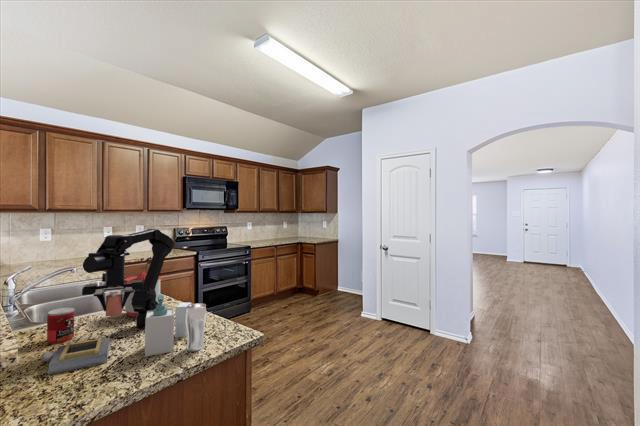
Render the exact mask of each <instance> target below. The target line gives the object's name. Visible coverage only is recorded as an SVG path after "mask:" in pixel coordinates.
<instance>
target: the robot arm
mask: <svg viewBox="0 0 640 426" xmlns="http://www.w3.org/2000/svg"><path fill="white" fill-rule="evenodd" d="M145 241H148V243H149V244H150V245H151V251H152V257H151V261H150V263H149V266H148V268H147V272H146V277H145V280H144V281H143V280H134V281H132V283H126V284H124V279H125V263H126V262H125V261H126V260H125V259H126V258H125V257H126V256H129V255H130V253H129V252H128V251H127V250H128V249H129V248H131V247H132V246H133V245H135V244H139V243H141V242H145ZM174 246H175V242H174V240H173V238H172V237H170V236H169V235H167V234H165V233H164V232H162V231H161V230H160V229H157V228H147V229H146V230H141V231H137V232H133V233H128V234H109V235H107V236H105V238H104V240H103V241H102V243H101V245H100V246H99V247H98V249H97V251H96V252H89V253H88V256H87V257H85V259H84V260H83V262H82V267H83V270H84V271H85V272H86V273H88V274H93V273H98V272H103V271H105V273H102V276H101V282H102V283H105V285H98V283H88V284H84V285H83V287H82V288H81V289H82V290H81V296H89V295H90V296H91V295H92V296H93V297H96V298H97V300H99V302H100V304H101V306H102V309H103V312H106V294H105V293H106V292H105V291H112V290H120V289H125V292H123V296H122V310H124V308H125V303H126V301H127V298H128V297H129V295H130V293H133V292H134V290H135V292H134V295H133V297H132V299H131V300H132V303H131V305H132V306H133V309H134V312H138V315H137V317H135V318H136V322H135V323H136V325H135V326H136V328H137V329H138V330H141V329H145V322H146V315H147V311H153V310H154V309H156V306H157V305H159V304H158V303H157V302H156V301H155V300H156V292H155V287H156V284H157V281H158V278H159V276H161V275H160V274H161V272H162V268H163V266H164V262H165V259H166V258H167V257H168V255H170V254H171V253H172V250H173V248H174Z"/></svg>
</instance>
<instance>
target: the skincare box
mask: <svg viewBox="0 0 640 426" xmlns="http://www.w3.org/2000/svg"><path fill="white" fill-rule="evenodd" d="M191 304H192V302H189V301H188V302H180V303H179V304H178V305H176V306H175V312H174V327H175V328H174V334H175V335H174V338H187V330H186V323H185V316H186V307H187V306H188V305H191Z"/></svg>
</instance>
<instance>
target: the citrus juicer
mask: <svg viewBox="0 0 640 426" xmlns="http://www.w3.org/2000/svg"><path fill="white" fill-rule="evenodd" d="M146 274H147V272H144V271H142V272H141V273H140V274H139V275H138V276H131V277H130V276H129V277H127V278H124V284H126V283H132V281H134V280H143V281H144V280H145V277H146ZM161 278H162V277H161V275H159V278H158V281H157V284H156V287H155V292H156V300H155V301H156V302H157V303H158V304H159V302H158V295H159V294H161ZM118 290H119V291H118V294H122V293H124V292H125V289H118ZM134 292H135V290H134ZM134 292H133V293H130V295H129V297H128V298H127V301H126V303H125V306H124V308H125V312H126V314H127V316H129V317H132V318H136V317H137V315H138V312H134V309H133V306H132V305H131V303H132V300H131V299H132V297H133V295H134Z"/></svg>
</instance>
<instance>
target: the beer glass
mask: <svg viewBox="0 0 640 426" xmlns="http://www.w3.org/2000/svg"><path fill="white" fill-rule="evenodd" d="M206 306H207V304H206V303H200V302H199V303H191V305H188V306H187V307H186V316H185V323H186V330H187V336H186V338H187V339H186V341H187V342H186V346H185V350H186V351H188V352H197V351H200V350H202V349H204V348H205V342H204V341H205V340H204V334H205V328H206V323H207V307H206Z"/></svg>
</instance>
